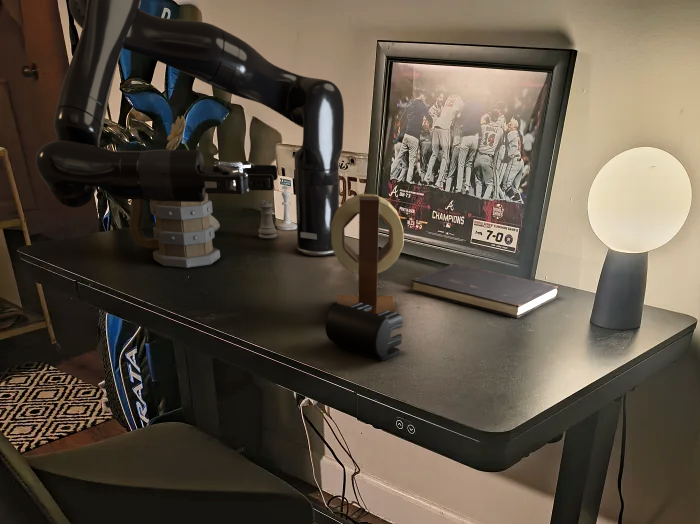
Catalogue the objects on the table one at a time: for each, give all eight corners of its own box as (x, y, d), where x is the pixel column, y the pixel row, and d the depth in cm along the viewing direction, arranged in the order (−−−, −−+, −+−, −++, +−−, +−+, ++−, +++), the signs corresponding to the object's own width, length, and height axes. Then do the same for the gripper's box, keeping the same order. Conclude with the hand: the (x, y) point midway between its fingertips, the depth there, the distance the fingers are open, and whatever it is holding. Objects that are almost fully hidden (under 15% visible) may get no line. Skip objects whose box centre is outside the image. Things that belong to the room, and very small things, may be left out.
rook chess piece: (280, 236, 176) (279, 200, 171) (272, 240, 172) (270, 203, 168) (263, 234, 177) (261, 198, 172) (254, 238, 173) (252, 202, 169)
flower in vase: (174, 227, 180) (160, 110, 166) (222, 227, 181) (212, 111, 167) (167, 241, 169) (151, 117, 155) (218, 241, 170) (207, 118, 156)
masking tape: (332, 267, 130) (330, 193, 123) (400, 267, 130) (402, 194, 124) (332, 275, 126) (330, 199, 119) (402, 274, 126) (404, 199, 120)
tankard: (226, 253, 161) (220, 179, 153) (204, 269, 151) (196, 190, 143) (139, 247, 164) (128, 173, 156) (112, 262, 153) (99, 183, 145)
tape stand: (337, 299, 137) (336, 182, 126) (391, 300, 138) (395, 184, 127) (337, 325, 125) (337, 199, 114) (396, 326, 126) (401, 200, 115)
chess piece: (293, 230, 181) (292, 186, 175) (274, 229, 181) (272, 185, 176) (299, 226, 185) (298, 182, 179) (280, 224, 185) (278, 181, 180)
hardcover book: (517, 318, 131) (518, 305, 130) (410, 291, 142) (411, 279, 141) (557, 297, 142) (559, 285, 141) (455, 274, 153) (456, 262, 152)
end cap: (324, 350, 116) (324, 307, 112) (354, 338, 121) (354, 297, 117) (374, 367, 111) (375, 323, 107) (403, 354, 116) (405, 311, 112)
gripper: (160, 157, 110) (271, 158, 111) (177, 143, 122) (277, 145, 123) (168, 210, 114) (274, 211, 115) (183, 192, 126) (279, 193, 127)
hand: (275, 177), depth 119 cm, fingers open, 8 cm apart
